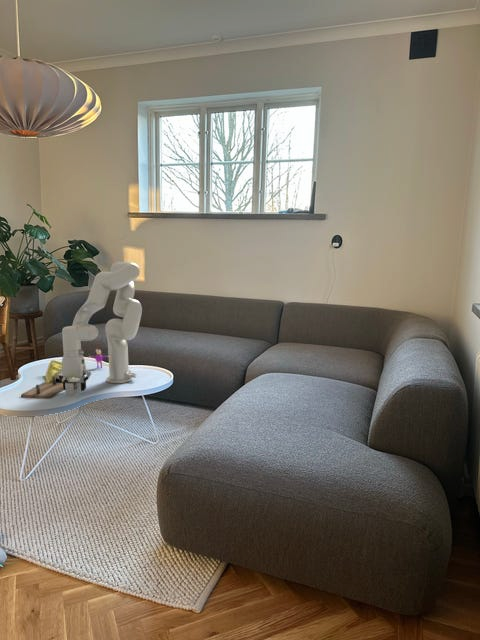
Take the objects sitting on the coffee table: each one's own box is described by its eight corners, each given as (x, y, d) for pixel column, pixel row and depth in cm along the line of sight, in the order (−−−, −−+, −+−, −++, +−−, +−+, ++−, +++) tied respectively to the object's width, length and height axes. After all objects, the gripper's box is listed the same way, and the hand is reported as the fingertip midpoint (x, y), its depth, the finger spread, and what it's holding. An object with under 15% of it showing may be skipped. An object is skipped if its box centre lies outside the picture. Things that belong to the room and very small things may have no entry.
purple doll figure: (110, 366, 241) (109, 346, 239) (109, 368, 238) (107, 347, 236) (89, 367, 240) (88, 346, 238) (88, 368, 237) (87, 348, 235)
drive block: (84, 389, 203) (83, 377, 202) (74, 396, 194) (73, 383, 193) (76, 388, 204) (75, 376, 203) (65, 395, 194) (65, 383, 193)
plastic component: (74, 376, 214) (53, 371, 209) (68, 390, 214) (47, 385, 209) (68, 364, 232) (49, 358, 226) (62, 377, 232) (43, 371, 226)
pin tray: (70, 385, 208) (69, 375, 207) (50, 398, 190) (49, 387, 189) (43, 384, 209) (43, 374, 209) (21, 397, 192) (20, 386, 191)
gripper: (94, 351, 198) (96, 387, 201) (58, 350, 200) (61, 386, 203) (86, 355, 190) (88, 393, 193) (50, 354, 192) (52, 391, 195)
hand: (74, 389), depth 198 cm, fingers open, 7 cm apart
